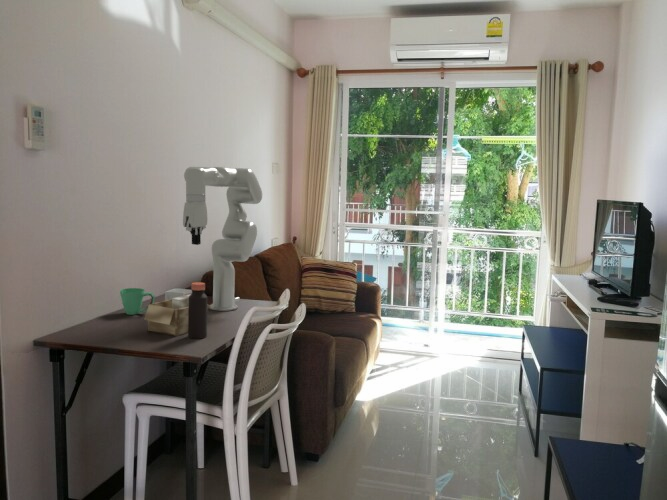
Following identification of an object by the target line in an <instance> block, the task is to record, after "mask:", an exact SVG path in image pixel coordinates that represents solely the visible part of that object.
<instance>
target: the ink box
mask: <svg viewBox="0 0 667 500" xmlns="http://www.w3.org/2000/svg"><path fill="white" fill-rule="evenodd" d="M190 294H192V289H187V288H178V287H177V288H172V289H168V290H166V291H164V301H166V300H170V299H172V298H177V297H181V296H186V295H190Z"/></svg>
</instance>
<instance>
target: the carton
mask: <svg viewBox="0 0 667 500" xmlns="http://www.w3.org/2000/svg"><path fill="white" fill-rule="evenodd" d="M190 295H191V294H190ZM190 295H186V296H181V297H177V298H172V299H170V300H166V301H165V300H162V301H159V302H158V301H157V302H154V303H153V304H150V303H149V304H150V305H155V306H161V307H166V308H172V309H175V310H174V313H173V316H172V319H171V322H170V325H167V324H162V323H157V322H152V321H147V331H149V332H154V333H158V334H163V335H166V336H167V335H168V336H173V337H179V336H181V335H185V334H188V310H189V296H190ZM149 304H148V305H147V306H149Z"/></svg>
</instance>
